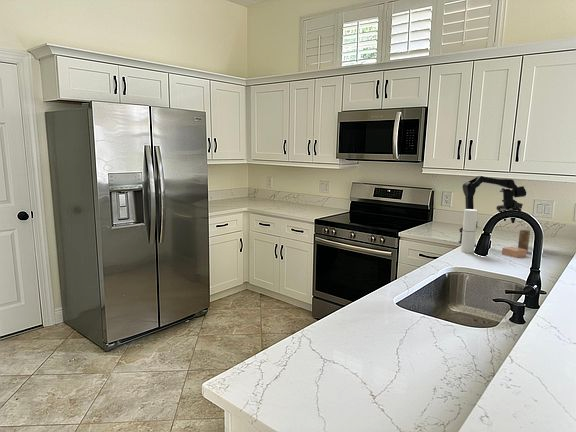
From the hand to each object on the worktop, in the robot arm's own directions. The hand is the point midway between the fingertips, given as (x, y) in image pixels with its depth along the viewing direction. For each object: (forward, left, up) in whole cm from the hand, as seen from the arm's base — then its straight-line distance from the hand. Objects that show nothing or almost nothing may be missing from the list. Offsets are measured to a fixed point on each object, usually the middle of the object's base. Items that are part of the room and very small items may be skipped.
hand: (508, 222), depth 263 cm
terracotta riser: (-19, -29, -15) cm, 37 cm away
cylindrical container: (-41, -18, -15) cm, 47 cm away
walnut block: (-7, -22, -14) cm, 27 cm away
